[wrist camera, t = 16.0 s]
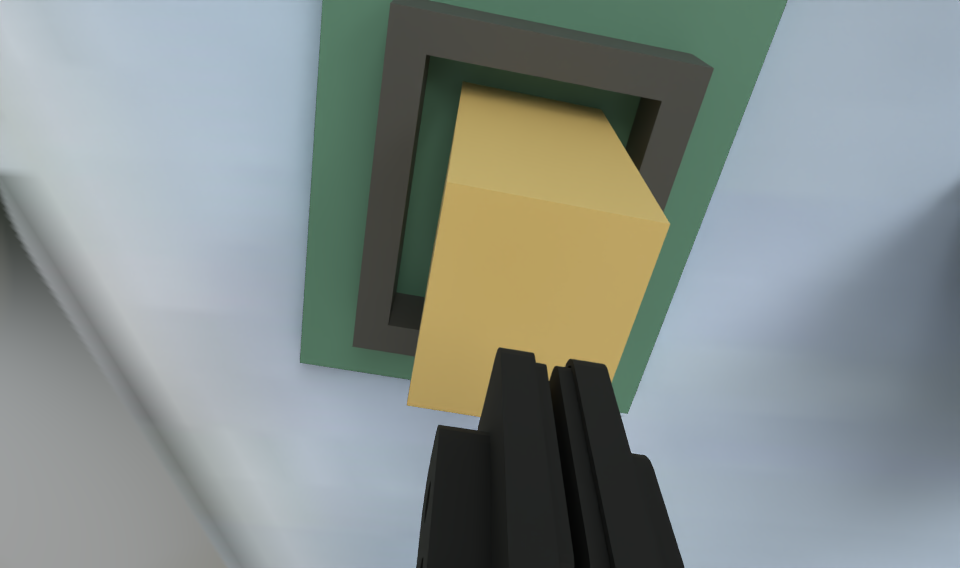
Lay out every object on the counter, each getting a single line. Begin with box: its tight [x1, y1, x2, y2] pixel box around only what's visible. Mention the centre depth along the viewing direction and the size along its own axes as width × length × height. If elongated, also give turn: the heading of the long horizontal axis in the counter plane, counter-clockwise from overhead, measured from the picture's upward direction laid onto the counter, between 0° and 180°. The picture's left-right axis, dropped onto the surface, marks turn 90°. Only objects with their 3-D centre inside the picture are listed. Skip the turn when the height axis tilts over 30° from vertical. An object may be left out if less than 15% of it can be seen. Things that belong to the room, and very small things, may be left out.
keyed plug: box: [407, 82, 670, 417], centre depth 16 cm, size 6×4×8 cm, turn 169°
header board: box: [300, 0, 787, 414], centre depth 19 cm, size 16×12×3 cm
